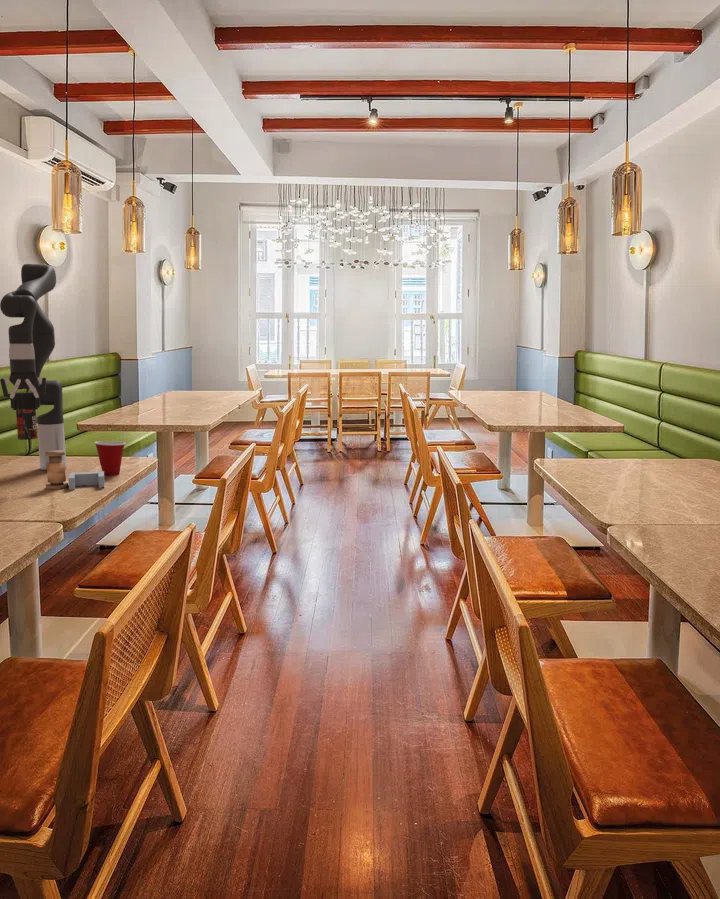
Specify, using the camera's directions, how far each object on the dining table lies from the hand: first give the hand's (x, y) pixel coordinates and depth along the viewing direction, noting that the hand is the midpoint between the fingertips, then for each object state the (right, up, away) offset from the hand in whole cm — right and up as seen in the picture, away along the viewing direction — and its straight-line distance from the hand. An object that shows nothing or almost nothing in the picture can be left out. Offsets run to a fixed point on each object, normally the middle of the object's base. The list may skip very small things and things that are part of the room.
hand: (25, 409), depth 245 cm
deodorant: (0, -10, +1) cm, 10 cm away
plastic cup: (+19, -22, +29) cm, 41 cm away
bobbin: (+8, -26, +5) cm, 28 cm away
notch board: (+18, -25, +7) cm, 32 cm away
